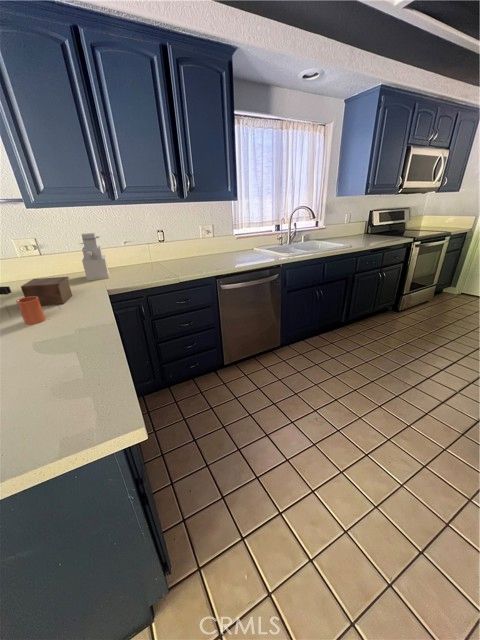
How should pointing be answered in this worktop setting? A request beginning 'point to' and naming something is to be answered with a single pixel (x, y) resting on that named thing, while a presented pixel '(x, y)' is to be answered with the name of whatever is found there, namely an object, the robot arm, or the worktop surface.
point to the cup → (31, 310)
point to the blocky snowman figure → (93, 258)
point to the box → (50, 293)
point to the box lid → (45, 282)
